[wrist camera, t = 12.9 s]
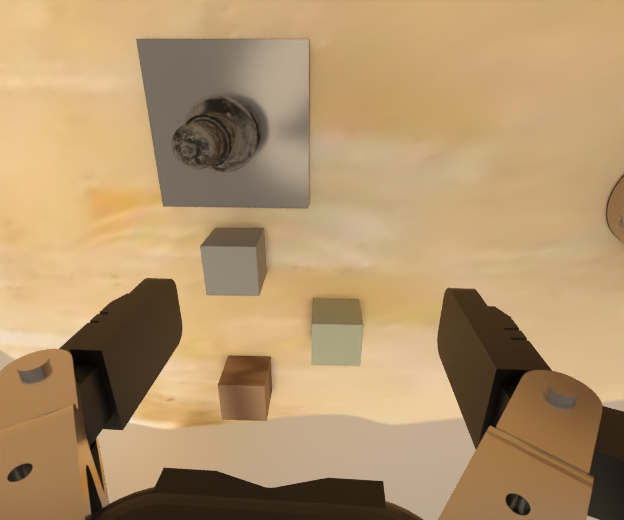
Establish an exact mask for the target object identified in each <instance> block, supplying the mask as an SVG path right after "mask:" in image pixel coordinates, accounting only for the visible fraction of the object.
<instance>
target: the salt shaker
mask: <svg viewBox="0 0 624 520" xmlns="http://www.w3.org/2000/svg"><path fill="white" fill-rule="evenodd" d="M260 138H261V128H260V123H259V120H258V118H257V116H256V114H255V113H254V111H253V110H252V109H251V108H250V107H249V106H248V105H247V104H245V103H244V102H242V101H240V100H237V99H232V98H230V97H227V96H221V95H213V96H207V97H205V98H203V99H201V100H199V101H197V102H196V103H195V104H194V105H193V106H192V107H191V109H190V111H189V112H188V114H187V116H186V120H185V125H183V126H181V127H179V128H178V129H177V130H176V132H175V133H174V135H173V137H172V150H173V153H174V155H175V157H176V159H177V160H178V161H179V162H180V163H181V164H182V165H184V166H185V167H187V168H190V169H195V170H200V169H204V168H206V167H207V168H209V169H211V170H214V171H218V172H231V171H235V170H237V169H240V168H242V167H243V166H244V165H246V164H247V163H248V162H249V161H250V159H251V158H252V156H253V155H254V153H255V150H256V148H257V147H258V145H259V141H260Z"/></svg>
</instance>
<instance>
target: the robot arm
mask: <svg viewBox="0 0 624 520" xmlns="http://www.w3.org/2000/svg"><path fill="white" fill-rule="evenodd" d="M607 220H608V224H609V227H610V229H611V230H612V232H613V234H614V235H615V236H616V237H618V238H619V239H620V240H622V241H623V242H624V177H623V178H622V179H621V180H620V181H619V183H618V184H617V186H616V187H615V189H614V191H613V193H612V195H611V197H610V199H609V204H608V208H607ZM181 336H182V320H181V313H180V307H179V301H178V294H177V288H176V284H175V282H174V281H173V280H172V279H157V278H146V279H144V280H143V281H142V282H141V283H140V284H139V285H138V286H137V287H136V288H135V289H133V290H132V291H131V292H130V293H129V294H126V295H124V296H122V297H120V298H118V299H116V300H114V301H112V302H110V303H109V304H108V305H107V306H106V307H105V308H104V309H103V310H102V311H100V314H97V315H96V316H95V317H94V318H93V319H92V320H90V323H87V324H86V325H85V326H84V327H83V328H82V329H80V330H79V331H78V332H77V333H76V334H75V335H74V336H73V337H72V338H70V339H69V340H68V341H67V342H66V343H65V344H64V345H63V346H61V347H60V348H59V349H47V350H41V351H37V352H33V353H30V354H28V355H25V356H22V357H20V358H18V359H16V360H15V361H13V362H11V363H10V364H8V365H7V366H6V367H4V368H3V369H2V370H1V371H0V520H423V519H421V518H420V517H418V516H417V515H415V514H413V513H412V512H410V511H408V510H406V509H404V508H402V507H400V506H398V505H395V504H393V503H390V502H387V501H385V494H384V486H383V481H371V480H355V479H338V478H325V479H319V480H313V481H309V482H303V483H297V484H292V485H286V486H281V487H276V488H266V487H262V486H259V485H256V484H253V483H250V482H247V481H244V480H242V479H239V478H236V477H233V476H230V475H227V474H224V473H221V472H218V471H208V470H207V471H206V470H192V469H176V468H164V469H163V471H162V473H161V475H160V477H159V479H158V481H157V483H156V486H155V487H154V488H148V489H145V490H142V491H138V492H135V493H133V494H130V495H128V496H125V497H123V498H120V499H118V500H116V501H114V502H112V503H111V504H109V500H108V494H107V488H106V483H105V476H104V470H103V464H102V458H101V452H100V446H99V443H98V440H97V436H98V434H99V433H100V432H101V431H102V429H113V430H123V429H124V428H125V426H126V425H127V423H128V421H129V420H130V418H131V417H132V415H133V414H134V412H135V411H136V409H137V408H138V406H139V404H140V403H141V401H142V400H143V398H144V397H145V395H146V394H147V392H148V391H149V389H150V388H151V386H152V384H153V383H154V381H155V380H156V378H157V377H158V375H159V374H160V372H161V371H162V369H163V368H164V366H165V364H166V363H167V361H168V360H169V358H170V357H171V355H172V354H173V352H174V351H175V349H176V347H177V346H178V344H179V342H180V339H181ZM437 342H438V352H439V356H440V359H441V361H442V364H443V366H444V369H445V371H446V374H447V377H448V379H449V382H450V384H451V387H452V389H453V392H454V395H455V397H456V400H457V402H458V405H459V407H460V410H461V413H462V415H463V418H464V420H465V423H466V425H467V428H468V431H469V433H470V436H471V438H472V441H473V443H474V446H475V449H476V451H475V453H474V455H473V457H472V458H471V460H470V462H469V464H468V466H467V468H466V469H465V471H464V473H463V475H462V477H461V479H460V481H459V482H458V484H457V486H456V488H455V490H454V491H453V493H452V495H451V497H450V499H449V501H448V502H447V504H446V506H445V508H444V510H443V512H442V514H441V515H440V517H439V519H438V520H586V518H587V515H588V516H591V517H594V518H597V519H600V520H624V412H623V411H619V410H615V409H611V408H607V407H604V406H602V403H601V401H600V399H599V397H598V396H597V395H596V394H595V393H594V392H593V391H592V390H591V389H590V388H589V387H587V386H586V385H585V384H583V383H581V382H580V381H578V380H576V379H574V378H572V377H570V376H567V375H565V374H562V373H559V372H555V371H552V370H551V369H550V367H549V366H548V365H547V364H546V362H545V361H544V360H543V358H542V357H541V356H540V355H539V353H538V352H537V351H536V349H535V348H534V347H533V346H532V344H531V343H530V342H529V341H527V338H526V337H525V335H524V334H523V333H522V332H521V331H519V328H518V326H517V325H516V324H515V323H514V321H513V320H512V319H511V317H510V316H508V315H507V314H505V313H504V312H502V311H501V310H499V309H498V308H496V307H494V306H487V305H486V303H485V302H484V300H483V299H482V297H481V296H480V295H479V293H478V292H477V291H476V290H475V289H461V288H447V289H446V291H445V294H444V298H443V305H442V311H441V317H440V324H439V330H438V339H437Z"/></svg>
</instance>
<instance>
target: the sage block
mask: <svg viewBox="0 0 624 520" xmlns="http://www.w3.org/2000/svg"><path fill="white" fill-rule="evenodd" d="M362 336H363V320H362V314H361V308H360V302H359V300H356V299H313V312H312V365H335V366H360V363H361V350H362Z"/></svg>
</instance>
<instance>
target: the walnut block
mask: <svg viewBox="0 0 624 520" xmlns="http://www.w3.org/2000/svg"><path fill="white" fill-rule="evenodd" d="M218 390H219V398H220V406H221V414H222V420H254V421H266V420H267V415H268V410H269V404H270V398H271V393H272V376H271V357H266V356H228V359H227V361H226V364H225V367H224V370H223V372H222V375H221V378H220V381H219V383H218Z"/></svg>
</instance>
